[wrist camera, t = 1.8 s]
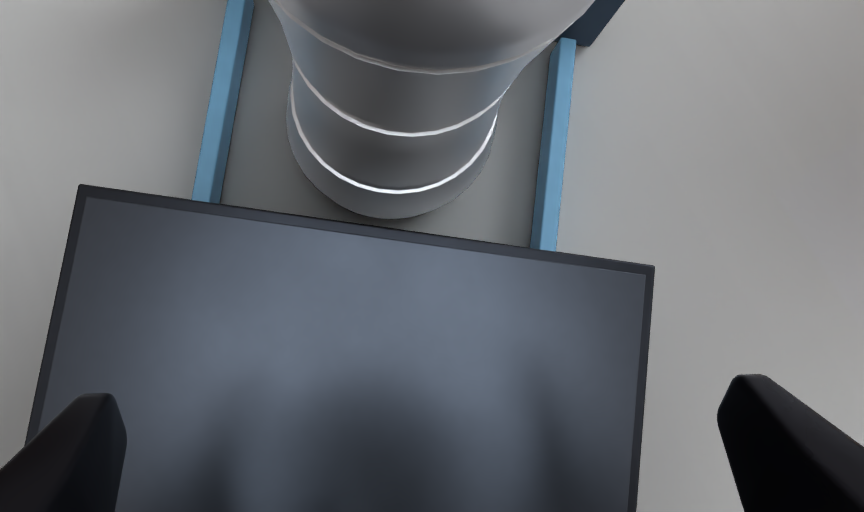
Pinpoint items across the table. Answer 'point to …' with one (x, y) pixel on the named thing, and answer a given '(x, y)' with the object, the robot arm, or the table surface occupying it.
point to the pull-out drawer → (552, 132)
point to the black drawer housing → (346, 362)
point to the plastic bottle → (405, 92)
